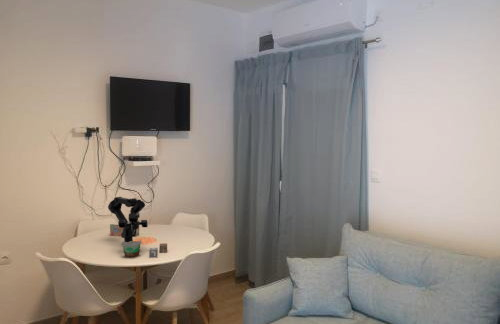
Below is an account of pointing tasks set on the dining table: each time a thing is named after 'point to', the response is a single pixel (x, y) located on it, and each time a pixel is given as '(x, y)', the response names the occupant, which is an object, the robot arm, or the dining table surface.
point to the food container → (131, 248)
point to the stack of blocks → (119, 230)
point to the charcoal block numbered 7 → (153, 252)
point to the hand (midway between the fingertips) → (131, 234)
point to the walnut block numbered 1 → (163, 248)
